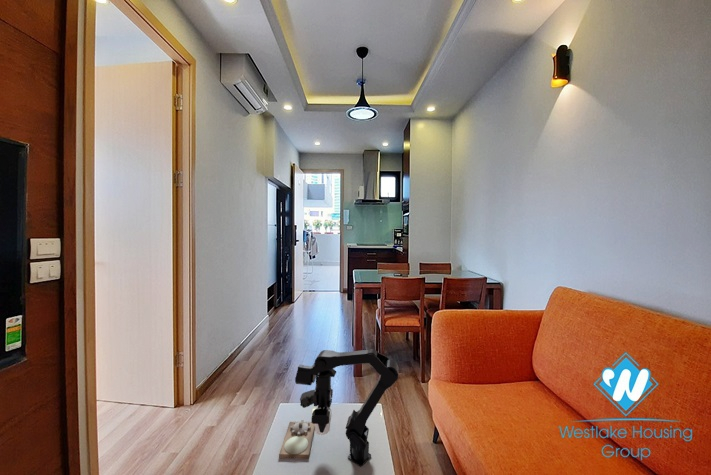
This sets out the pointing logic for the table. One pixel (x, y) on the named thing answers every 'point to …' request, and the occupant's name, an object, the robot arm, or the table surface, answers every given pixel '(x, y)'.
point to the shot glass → (326, 425)
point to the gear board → (297, 440)
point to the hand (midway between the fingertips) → (322, 426)
